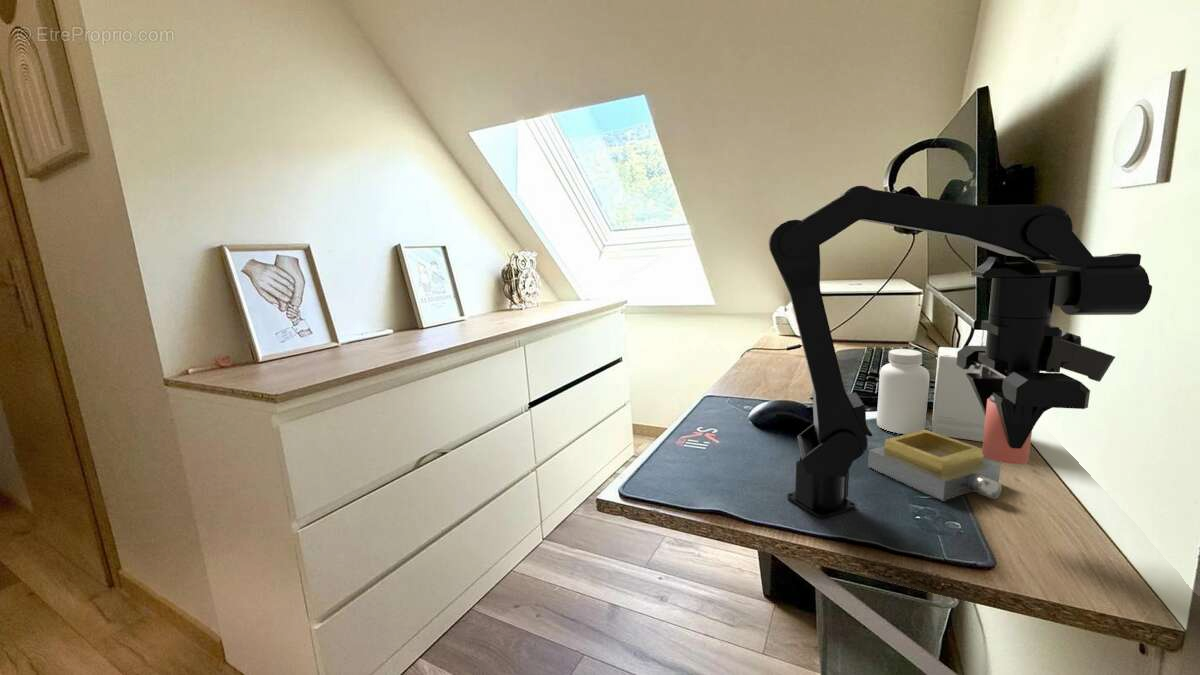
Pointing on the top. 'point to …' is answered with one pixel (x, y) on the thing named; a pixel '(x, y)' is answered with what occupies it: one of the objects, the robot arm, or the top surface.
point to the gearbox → (937, 465)
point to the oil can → (1001, 439)
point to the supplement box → (956, 400)
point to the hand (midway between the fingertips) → (1006, 440)
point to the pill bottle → (903, 392)
